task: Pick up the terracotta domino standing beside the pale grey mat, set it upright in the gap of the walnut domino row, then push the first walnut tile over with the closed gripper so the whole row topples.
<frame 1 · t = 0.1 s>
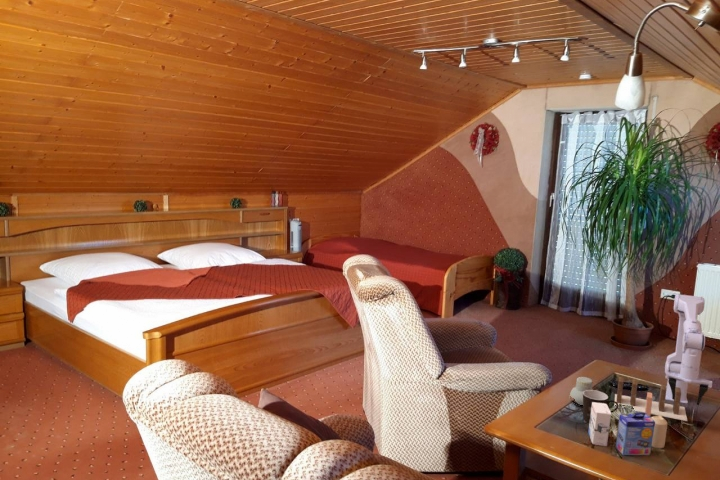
hand: (685, 401, 208), 10 cm above the table, tool pointing down, fingers open, 7 cm apart
tile 2: (660, 409, 223), resting on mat
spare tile: (647, 417, 216), on the table
tile 5: (618, 400, 229), resting on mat
tile 4: (632, 403, 227), resting on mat
air freshener: (582, 404, 227), on the table
tile 1: (675, 411, 221), resting on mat
ink box: (597, 440, 199), on the table
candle: (655, 444, 197), on the table
ink cartridge box: (632, 452, 191), on the table
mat: (649, 407, 225), on the table
coffee mug: (596, 422, 212), on the table
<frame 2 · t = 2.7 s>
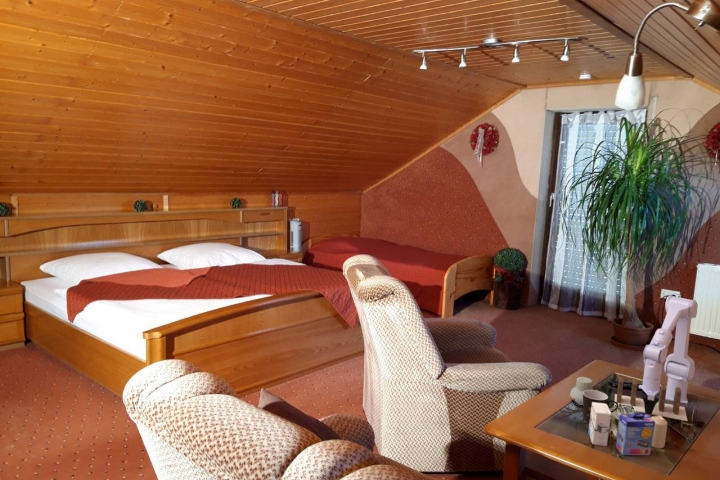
hand: (648, 411, 216), 3 cm above the table, tool pointing down, fingers closed on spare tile, 5 cm apart
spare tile: (647, 417, 216), on the table, touching gripper
everything else where it was.
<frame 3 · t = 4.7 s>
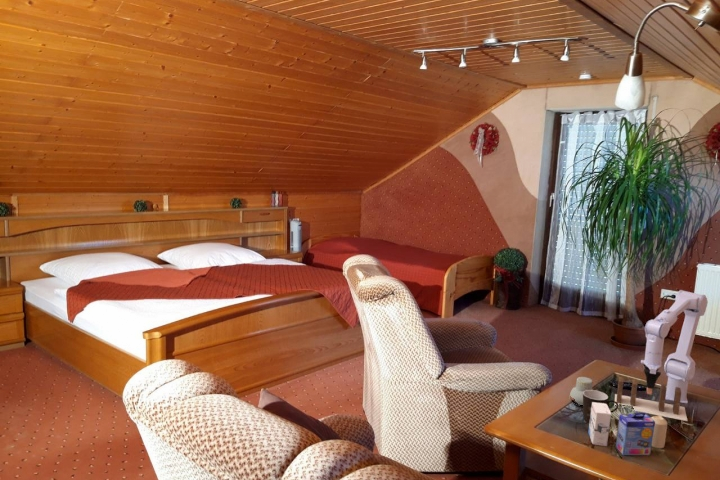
hand: (650, 385, 220), 10 cm above the table, tool pointing down, fingers closed on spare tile, 5 cm apart
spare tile: (649, 391, 221), point 8 cm above the table, touching gripper
everything else where it was.
when the fingers open (4 cm above the table, at t = 7.2 s): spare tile stays where it is, resting on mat.
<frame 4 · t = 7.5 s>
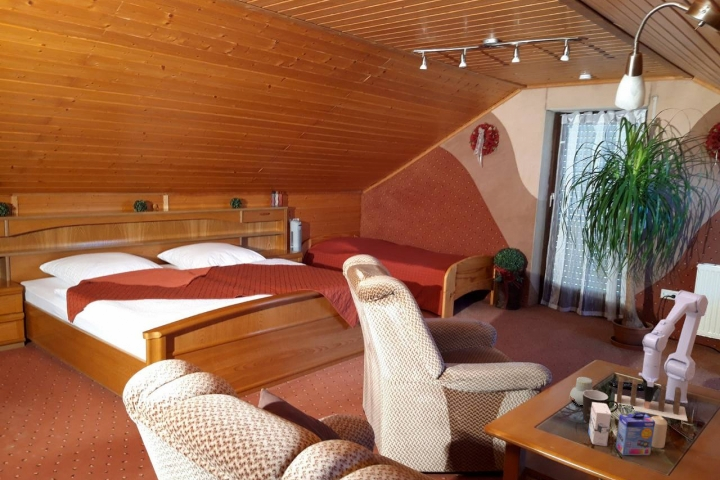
hand: (647, 397, 225), 4 cm above the table, tool pointing down, fingers open, 7 cm apart
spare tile: (646, 406, 225), resting on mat
everything else where it was.
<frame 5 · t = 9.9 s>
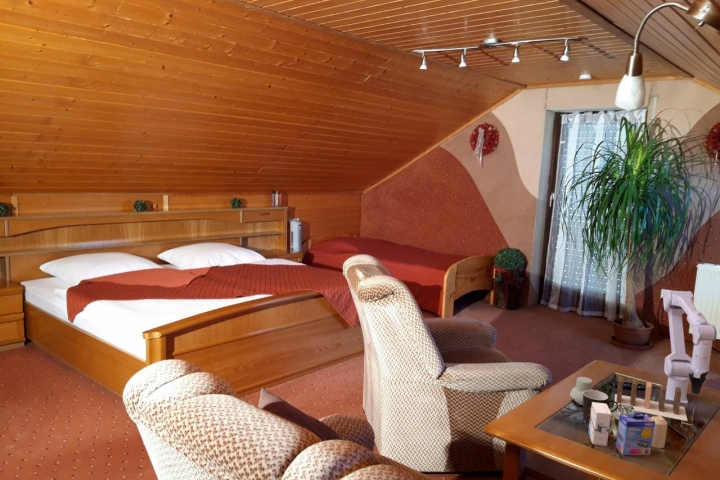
hand: (696, 390, 217), 10 cm above the table, tool pointing down, fingers open, 7 cm apart
nothing on the table moved.
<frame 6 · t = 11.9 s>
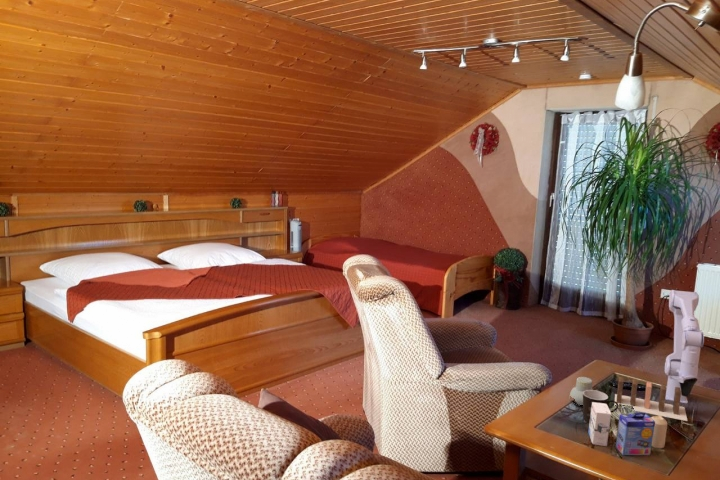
hand: (685, 395, 219), 7 cm above the table, tool pointing down, fingers closed
tile 1: (675, 411, 221), resting on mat, touching gripper
everything else where it was.
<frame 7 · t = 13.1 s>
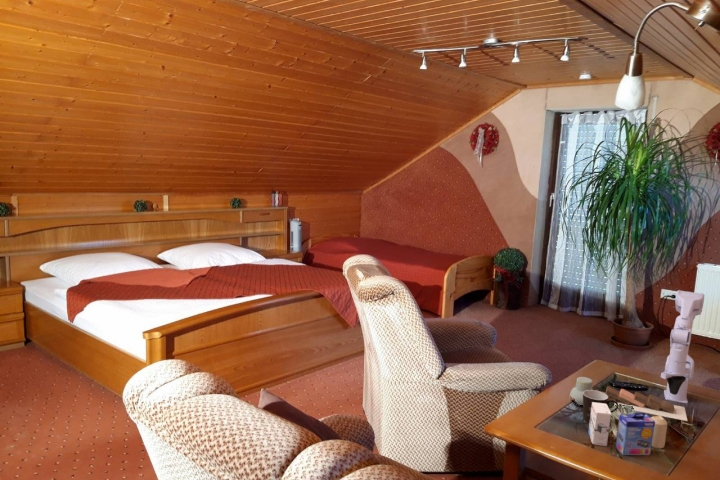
hand: (673, 393, 220), 7 cm above the table, tool pointing down, fingers closed
tile 2: (658, 406, 223), point 1 cm above the table, tilted 72°, touching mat, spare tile, tile 1
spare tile: (643, 403, 225), point 1 cm above the table, tilted 72°, touching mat, tile 2, tile 4
tile 5: (615, 398, 230), point 1 cm above the table, tilted 92°, touching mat, tile 4
tile 4: (629, 401, 228), point 1 cm above the table, tilted 72°, touching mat, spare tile, tile 5
tile 1: (673, 409, 221), point 1 cm above the table, tilted 72°, touching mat, tile 2
everything else where it was.
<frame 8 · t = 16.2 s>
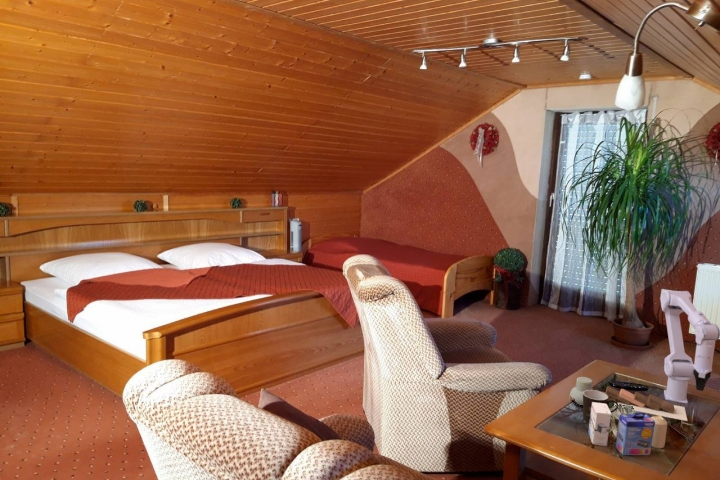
hand: (699, 389, 217), 10 cm above the table, tool pointing down, fingers closed
nothing on the table moved.
at the end: tile 5 tilted 92°; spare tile tilted 72°; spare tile 1.1 cm from the target spot, point 1.1 cm above the table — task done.
